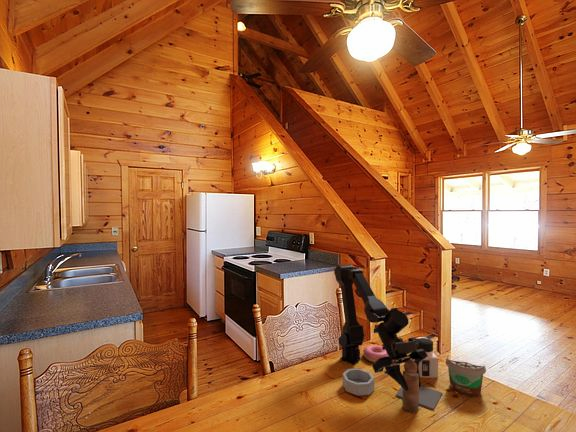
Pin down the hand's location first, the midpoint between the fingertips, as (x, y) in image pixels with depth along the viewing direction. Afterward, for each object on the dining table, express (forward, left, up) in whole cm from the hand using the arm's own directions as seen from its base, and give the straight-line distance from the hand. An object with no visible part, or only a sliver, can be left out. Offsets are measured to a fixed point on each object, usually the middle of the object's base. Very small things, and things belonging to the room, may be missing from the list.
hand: (413, 388), depth 97 cm
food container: (+11, +21, -7) cm, 24 cm away
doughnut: (-23, +26, -7) cm, 36 cm away
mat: (-1, +10, -7) cm, 12 cm away
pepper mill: (-1, +1, -7) cm, 7 cm away
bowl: (-19, +1, -7) cm, 20 cm away
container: (-4, +26, -7) cm, 27 cm away
